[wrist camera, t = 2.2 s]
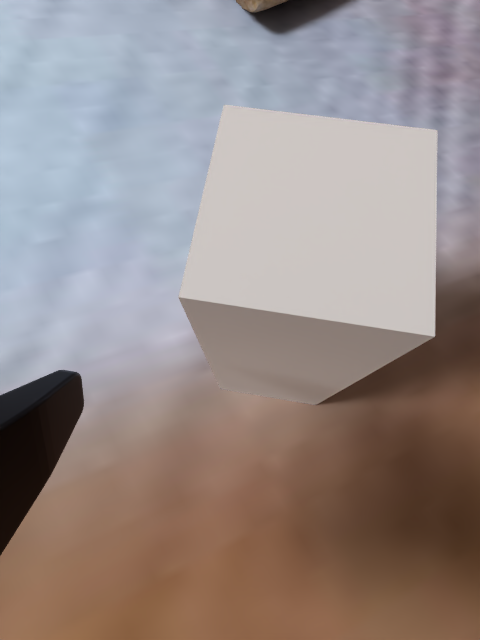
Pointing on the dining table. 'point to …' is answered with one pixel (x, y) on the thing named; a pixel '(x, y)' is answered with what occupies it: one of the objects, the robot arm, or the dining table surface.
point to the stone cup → (258, 4)
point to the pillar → (312, 251)
